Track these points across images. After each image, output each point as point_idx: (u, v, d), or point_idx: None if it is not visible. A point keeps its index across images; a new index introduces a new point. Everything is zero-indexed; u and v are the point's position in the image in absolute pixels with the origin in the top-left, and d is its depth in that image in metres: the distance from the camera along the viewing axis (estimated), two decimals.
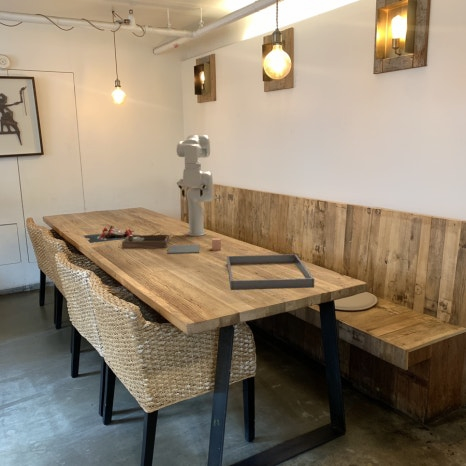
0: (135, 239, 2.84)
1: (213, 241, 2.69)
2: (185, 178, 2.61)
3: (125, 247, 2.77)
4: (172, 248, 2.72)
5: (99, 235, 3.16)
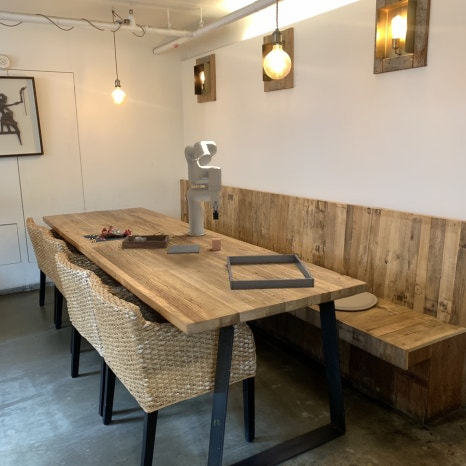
0: (137, 239, 2.84)
1: (213, 241, 2.69)
2: (219, 200, 2.64)
3: (125, 247, 2.77)
4: (172, 248, 2.72)
5: (98, 235, 3.16)
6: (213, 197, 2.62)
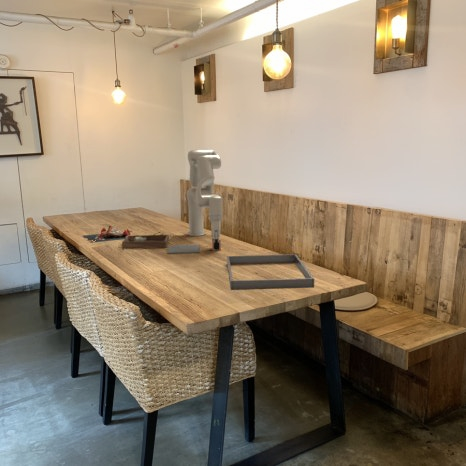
0: (137, 239, 2.84)
1: (213, 241, 2.69)
2: None
3: (125, 247, 2.77)
4: (172, 248, 2.72)
5: (98, 235, 3.16)
6: (214, 226, 2.65)
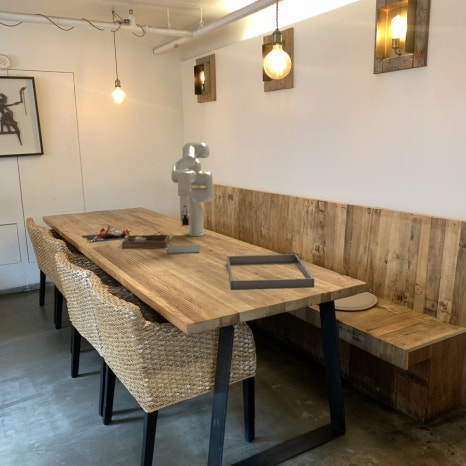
0: (137, 239, 2.84)
1: (182, 217, 2.66)
2: (188, 204, 2.63)
3: (125, 247, 2.77)
4: (172, 248, 2.72)
5: (97, 235, 3.16)
6: (182, 201, 2.62)
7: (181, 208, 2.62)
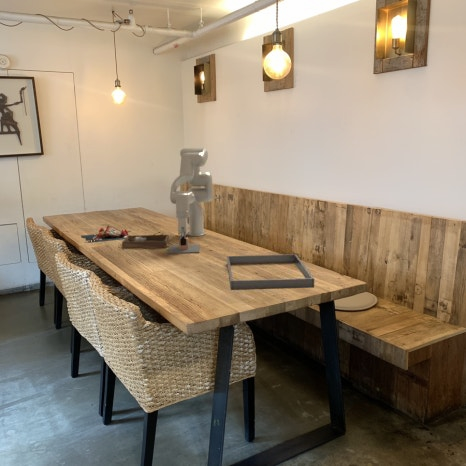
0: (137, 239, 2.84)
1: None
2: (186, 226, 2.66)
3: (125, 247, 2.77)
4: (172, 248, 2.72)
5: (96, 235, 3.16)
6: (180, 223, 2.64)
7: (179, 230, 2.65)
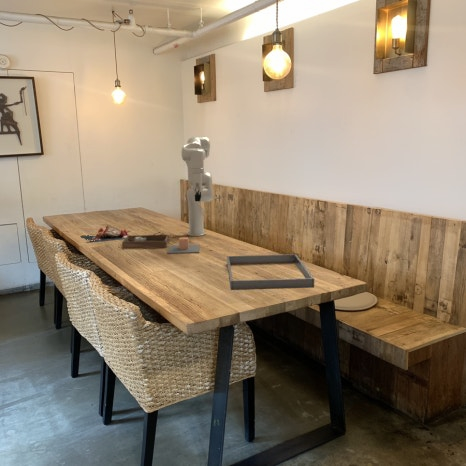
0: (137, 239, 2.84)
1: (180, 240, 2.68)
2: (201, 182, 2.70)
3: (125, 247, 2.77)
4: (172, 248, 2.72)
5: None
6: (195, 179, 2.68)
7: (193, 186, 2.69)
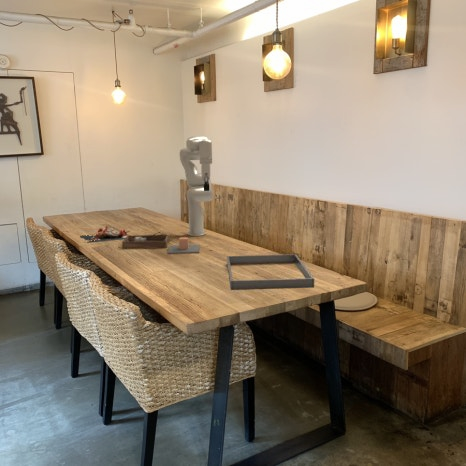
0: (137, 239, 2.84)
1: (180, 240, 2.68)
2: (209, 172, 2.74)
3: (125, 247, 2.77)
4: (172, 248, 2.72)
5: None
6: (204, 169, 2.72)
7: (202, 175, 2.73)
